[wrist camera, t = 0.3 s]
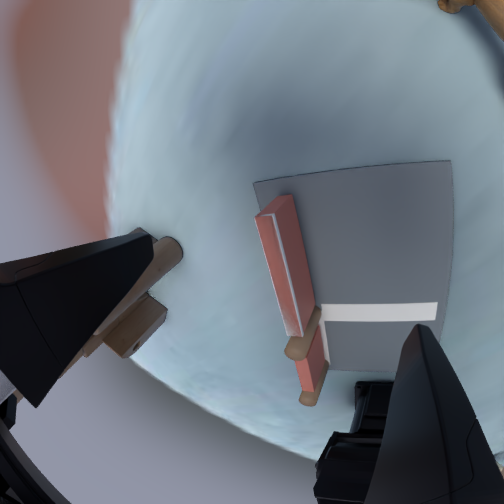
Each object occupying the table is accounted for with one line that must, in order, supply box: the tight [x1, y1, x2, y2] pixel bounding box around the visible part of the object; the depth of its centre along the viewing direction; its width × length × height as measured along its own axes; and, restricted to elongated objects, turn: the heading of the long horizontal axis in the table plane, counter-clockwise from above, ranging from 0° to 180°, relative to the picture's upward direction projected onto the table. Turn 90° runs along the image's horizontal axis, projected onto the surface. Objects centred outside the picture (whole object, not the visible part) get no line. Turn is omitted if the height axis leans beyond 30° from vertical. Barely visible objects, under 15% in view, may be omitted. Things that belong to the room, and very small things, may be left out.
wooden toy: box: [13, 228, 182, 403], centre depth 24 cm, size 15×7×25 cm, turn 157°
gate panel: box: [254, 194, 315, 337], centre depth 21 cm, size 10×1×4 cm, turn 17°
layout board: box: [253, 161, 454, 372], centre depth 22 cm, size 21×15×1 cm
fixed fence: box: [284, 305, 329, 406], centre depth 25 cm, size 9×2×6 cm, turn 17°
